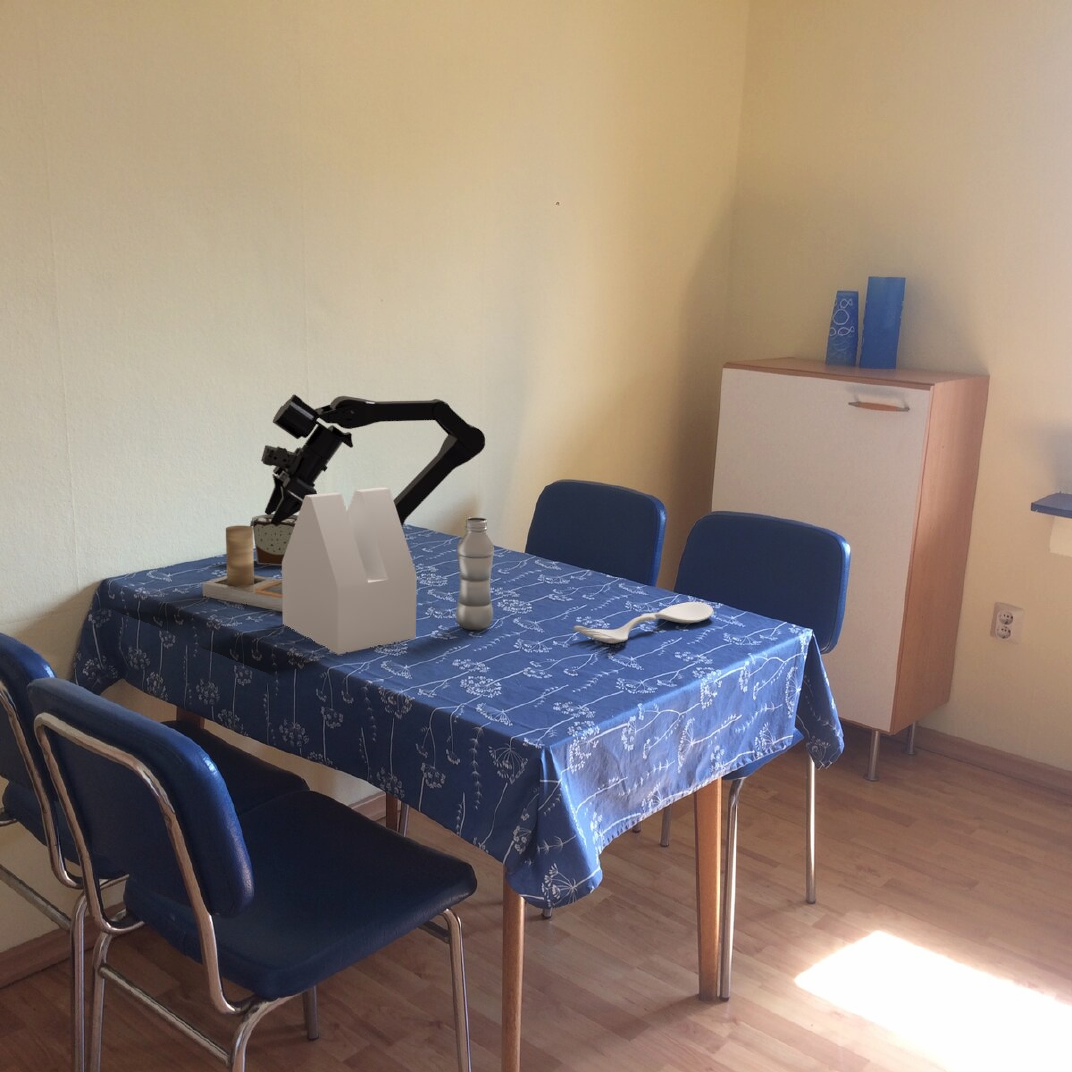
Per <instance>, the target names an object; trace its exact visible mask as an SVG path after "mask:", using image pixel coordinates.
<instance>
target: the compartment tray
mask: <svg viewBox="0 0 1072 1072" xmlns="http://www.w3.org/2000/svg"><path fill="white" fill-rule="evenodd" d="M205 596H206V597H207V598H210V597H211V598H212V599H216V600H221V601H227V602H231V603H237V604H241V603H243V604H242V605H246V604H247V605H248V606H253V607H257V608H261V609H268V610H273V611H278V612H282V613H283V603H282V579H278V578H273V577H268V576H262V575H261V576H260V575H256V574H254V585H251V586H248V587H245V588H239V587H234V586H228V585H227V575H224V576H221V577H217V578H215V579H212V580H209V581H206V582H202V597H205Z"/></svg>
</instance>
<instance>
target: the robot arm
mask: <svg viewBox="0 0 1072 1072" xmlns="http://www.w3.org/2000/svg"><path fill="white" fill-rule="evenodd" d="M274 415H275V416H274V417H273V419H272V423H273V424H274V425H276V426H277V427H279V428H280V429H282V431H284V432H286V433H287V434H289V435H290V436H292V437H294V439H296V440H300V438H304V439H306V438H308V439H306V441H305V443H303V446H302V447H300V446H299V447H296V449H295V450H294V451H290V450H288V449H287V448H285V447H284V448H283V447H280V446H278V445H277V446H276V447H275V446H272V445H264V449H263V452H262V456H261V459H260V461H261V462H262V464H263V465H266V466H269V467H272V466H274V468H273V470H272V472H273V473H272V478H273V479H272V480H273V483H274V488H273V490H272V493H271V495H270V497H269V499H268V502H267V504H266V507H265V509H264V514H265V515H266V514H268V515H270V514H274V515H273V517H272V519H271V521H270V522H271V523H272V524H273V525H277V524H278V523H280V522H282V521H283V520H285V519H287V518H288V517H290V516H292V515H296V514H297V513H299V512H300V509H301V506H302V503H303V500H304V498H305V495H314V494H318V493H317V492H318V491H317V490H316V489H315V487H316V484H315V482H316V481H317V480H318V477H319V476H320V475H321V474H322V472H324V473H325V472H326V471H327V469H328V468H329V467H328V466H327V465H328V464H329V462H330V461H331V459H332V458H333V457H334V455H335V454H336V453H337V451H338V450H339V449H340V447H341V446H342V444H343V443H344V445H346V446H347V447H349V448H350V449H351V448H354V443H353V439H352V437H353V434H352V433H351V432H350V431H347V432H343V430H341V429H339V428H338V427H336V426H335V424H336V425H337V426H339V427H340V428H342V429H346V430H352V429H356V428H357V429H358V428H361V427H367V426H370V425H372V424H377V423H381V422H386V423H387V422H414V421H415V422H417V421H434V422H436V423H437V424H438V425H439V427H441V429H442V431H444V432H445V433H446V434H447V436H446V437H445V439H444V440H443V443H442V444H441V447H440V449H439V451H438V453H436V455H435V456H434V457H433V459H432V460H430V462H429V463H428V464H427V465H426V466H425V467H424V468H423V469H422V470H421V471H420V472H419V473H418V474H417V475H416V476H415V477H414V478H413V479H412V480H411V481H410V482H409V483H408V485H406V487H405V488H404V489H402V491H401V492H400V493H398V495H397V496H396V497H395V498H393V501H394V504H395V507H396V510H397V513H398V517H399V520H400V523H401V526H402V528H403V526H404V524H405V522H406V520H407V519H408V518H409V517H410V515H411V514H412V513H414V512H415V510H416V509H417V508H418V507H419V506H420V505H421V504H422V503H423V502H424V501H425V500H426V499H427V498H428V497H429V496H430V494H432V493H433V491H435V490H436V488H438V486H439V485H440V484H441V483H442V482H443V481H444V480H446V478H447V477H448V476H449V475H450V474H451V473H452V472H453V470H455V469H457V468H458V467H460V466H463V465H465V463H468V462H469V461H471V460H472V459H474V457H476V456H478V455H479V454H480V453H481V452H482V451H483V450H484V448H485V446H486V438H485V434H484V432H483V431H482V430H481V429H480V428H478V427H476V426H473V425H471V424H470V423H467V422H466V421H465V420H464V419H463V418H462V416H460V415H459V414H457V412H455V410H453V409H452V408H451V407H450V405H449V404H448V403H447V402H446V401H444V400H441V399H439V398H438V399H437V398H435V399H432V400H390V401H389V400H387V401H384V400H383V401H379V400H378V401H376V400H370V399H366V398H365V399H364V398H360V397H353V396H347V395H341V396H337V397H335V398H334V399H333V400H332V401H331V403H330V404H327V405H324V406H321V407H318V408H313V407H311V406H310V405H309V404H307V403H306V402H305V401H303V399H302V398H300V397H299V396H298V395H296V393H295V394H292V396H291V397H290V398H289V399H288V400H287V401H286V402H285V403H284V404H283V405H281V406H280V407H279V409H278V410H277V412H276V413H275V414H274ZM318 419H320V420H322V421H323V422H324V423H326V424H330V426H328V427H327V426H325V425H324V424H322V423H321V422H320V421H318ZM331 424H332V425H331ZM333 424H334V425H333Z"/></svg>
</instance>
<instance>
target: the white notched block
mask: <svg viewBox="0 0 1072 1072" xmlns="http://www.w3.org/2000/svg"><path fill="white" fill-rule="evenodd" d="M343 497H344V496H343V495H342V493H339V492H336V491H335V492H325V493H324V492H323V493H317V494H314V495H305V498H304V500H303V503H302V506H301V509H300V511H299V512H298V518H297V521H296V523H295V526H294V529H293V532H292V535H291V538H290V541H289V543H288V546H287V549H286V552H285V555H284V558H283V561H282V565H281V580H282V603H283V612H282V625H283V624H284V625H283V626H285V625H286V626H288V627H290V628H291V630H292V629H294V630H296V631H298V632H300V633H301V634H303V635H304V636H303V635H302V636H303V637H305V636H306V637H305V638H307V637H309V638H311V639H312V640H313V642H314V641H315V642H314V643H316V644H318V645H319V646H321V645H323V646H325V647H326V648H325V647H324V648H325V649H327V648H328V649H327V650H329V649H330V650H329V651H331V652H333V653H334V652H335V654H336V653H337V654H336V655H342V654H347V653H346V652H348V653H352V652H357V651H361V650H366V649H370V647H371V648H374V646H376V647H379V646H378V645H381V646H384V645H389V644H394V642H395V643H399V642H404V641H408V639H409V640H412V639H413V638H414V639H417V637H416V636H417V582H418V581H417V575H418V574H417V571H416V567H415V564H414V561H413V559H412V554H411V552H410V549H409V545H408V542H407V540H406V535H405V533H404V530H403V527H402V526H401V523H400V520H399V517H398V513H397V510H396V507H395V504H394V501H393V500H394V498H393V495H392V492H391V488H388V487H385V486H383V487H382V486H381V487H371V488H364V489H361V488H360V489H355V490H354V493H353V495H352V498H351V501H350V502H349V506H348V509H347V508H346V505H345V504H346V503H345V502H344V498H343ZM286 626H285V627H286ZM288 627H287V628H288ZM290 628H289V629H290ZM294 630H293V631H294ZM296 631H295V632H296ZM298 632H297V633H298ZM301 634H300V635H301ZM309 638H308V639H309ZM312 640H311V641H312ZM323 646H322V647H323Z"/></svg>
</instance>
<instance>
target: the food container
mask: <svg viewBox="0 0 1072 1072" xmlns="http://www.w3.org/2000/svg"><path fill="white" fill-rule="evenodd" d="M273 515H274V513H272V514H270V515H268V514H266V513H265V514H260V515H256V516H253V517H252V518H251V520H250V524H249V526H250V527H253V541H254V547H255V554H256V563H257V565H267V564H269V565H270V566H271V565H272V566H282V561H283V558H284V555H285V552H286V549H287V546H288V543H289V541H290V538H291V535H292V532H293V529H294V526H295V523H296V521H297V518H298V515H299V514H298V515H296V514H293V515H292V516H290V517H288V518H287V519H285V520H283V521H282V522H280V523H278V524H277V525H273V524H272V523H271V522H270V521H271V519H272V517H273Z"/></svg>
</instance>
